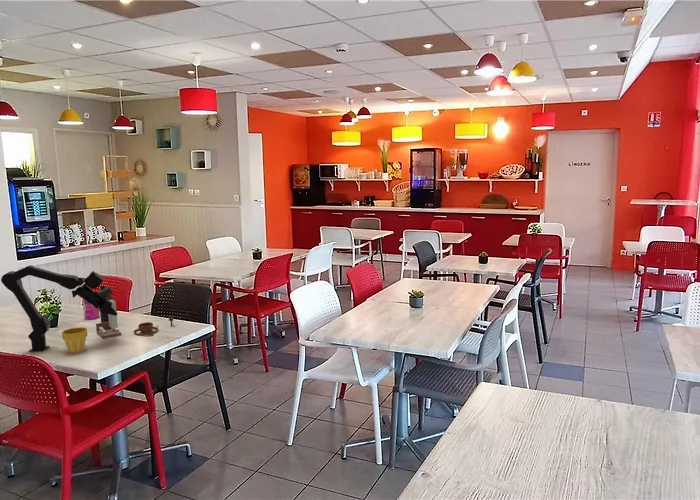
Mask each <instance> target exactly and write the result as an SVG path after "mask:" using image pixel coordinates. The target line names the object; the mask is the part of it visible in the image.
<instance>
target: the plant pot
mask: <svg viewBox="0 0 700 500" xmlns="http://www.w3.org/2000/svg"><path fill="white" fill-rule="evenodd" d="M61 335H62V337H61V338H62V340H63V341H64V343H65V346H66V349H67V352H68V353H70V354H77V353H81V352H83V351H85V345H86V338H87V337H88V329H87V327H82V326H80V327H78V326H77V327H71V328H68V329H67V328H66V329H64V330H63V331H62V332H61Z"/></svg>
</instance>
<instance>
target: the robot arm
mask: <svg viewBox="0 0 700 500" xmlns="http://www.w3.org/2000/svg"><path fill="white" fill-rule="evenodd" d="M27 276H31V277H35V278H39V279H42V280H45V281H49V282H52V283H56V284H58V285H59V286H61V287H62V288H65V289H68V290H71V293H72V294H71V295H72V298H76V296H79V297H80V298H81V299H82V300H85V301H87V302H88V303H90V304H91V305H93V306H94V307H95V308H97V309H98V310H99V313H100V312H101V313H103V314H104V313H105V314H110V315H115V316H117V317H118V313H117V310H116V311H115V310H114V309H113V308H112V307H111V305H112V303H111V302H110V301H108V300H106V298H104V297H106V296H108V295H110V296H111V295H112V294H113V293H114V292H113V290H112V288H111V287H110V285H106V286H104V285H101V284H102V283H103V282H104V281H105V278H104V277H103V276H102V275H101V274H99V273H97V272H95V271H94V270H93V271H91V272H90V274H89V275H88V276H87V277H79V276H77V275H75V274H62V273H57V272H54V271H50V270H47V269H43V268H40V267H36V266H33V265H31V264H30V265H27V266H25V267H23V268H21V269H19V270H16V271H15V270H11V271H8V272H7V273H5V274H3V275H2V276H1V279H0V282H1V283H2V285H4V287H6V289H7V290H9V291H11V293H13V295H14V296H15V299H16V300H17V301H18V303H19V304H20V306H21V308H22V309H23V310H24V312H25V314H26V315H27V316H28V318H29V321H30V325H31V329H32V331H31V332H30V333H29V334H28V339H29V340H30V341H31V349H29V350H28V352H29V353H30V352H44V351H46V350H47V349H48V348H50V345H47V337H46V334H47V332H48V331H49V330H50V327H51V320H49V318H48V316H47V314H44V315H42V314H41V313H40V312H39V311H38V309H37V307H36V306H35V304H34V302H33V301H32V299H31V298H30V297H29V296H30V295H28V293H27V291H26V290H25V289H24V286H23V281H22V279H23V278H25V277H27ZM98 287H99V290H98V291H96V289H97V288H98ZM74 289H75V290H74ZM93 289H95V290H93Z"/></svg>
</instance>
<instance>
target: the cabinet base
mask: <svg viewBox="0 0 700 500" xmlns="http://www.w3.org/2000/svg"><path fill="white" fill-rule="evenodd" d="M95 328H96V335H98V336H99V337H100V338H101V339H102V340H103V339H104V340H105V339H109V338H115V337H120V336H122V334H123V333H122V332H121V331H120V330H119V328H114V329H112V328H111V327H110V326H109V322H103V323H101V322H100V323H95Z"/></svg>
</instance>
